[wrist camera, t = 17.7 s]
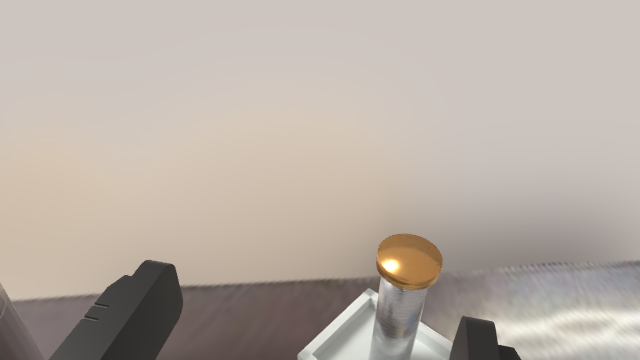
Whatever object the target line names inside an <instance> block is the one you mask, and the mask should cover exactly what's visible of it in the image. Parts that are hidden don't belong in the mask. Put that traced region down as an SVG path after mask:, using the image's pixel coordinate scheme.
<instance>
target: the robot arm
mask: <svg viewBox="0 0 640 360" xmlns="http://www.w3.org/2000/svg"><path fill="white" fill-rule="evenodd" d="M182 306H183V298H182V293H181V289H180V285H179V281H178V277H177V273H176V270H175V266H174V265H173V264H169V263H163V262H158V261H152V260H146V261H144V262H143V263H142V264H141V265H140V266H139V268H138V269H137V270H136V271H135V273H134V274H133V275H132V276H128V275H124V276H123V277H121V278H120V279H119V280H117V281H116V282H114V283H113V284H111V285H110V286H109V287H107V289H106V290H105V291H104V292H103V293H102V295H101V296H100V297H99V298H98V300H97V301H96V302H95V305H94V306H92V307H91V308H90V309H89V311H88V312H87V313H86V314H85V317H84V319H81V321H80V322H79V323H78V324H77V325H76V327H75V328H74V329H73V330H72V332H71V333H70V334H69V335H68V337H67V338H66V339H65V340H64V341H63V343H62V344H61V345H60V346H59V348H58V349H57V350H56V351H55V353H54V354H53V355H52V356H51V357H50V359H49V360H155V359H156V357H157V355H158V354H159V352H160V350H161V349H162V347H163V345H164V343H165V342H166V340H167V338H168V337H169V335H170V333H171V331H172V330H173V328H174V326H175V325H176V323H177V321H178V319H179V317H180V314H181V311H182ZM0 360H45V358H44V357H43V355H42V353H41V352H40V350H39V348H38V346H37V345H36V343H35V341H34V340H33V338H32V336H31V334H30V333H29V331H28V329H27V328H26V326H25V324H24V322H23V321H22V319H21V317H20V316H19V314H18V312H17V310H16V309H15V307H14V305H13V304H12V302H11V300H10V298H9V297H8V295H7V293H6V292H5V290H4V289H3V287H2V285H1V283H0ZM449 360H521V359H520V357H519V355H518V354H517V352H516V350H515V349H514V348H512V347H507V346H502V345H498V342H497V335H496V328H495V324H494V322H492V321H488V320H482V319H477V318H471V317H466V316H463V317H462V318H461V321H460V324H459V327H458V330H457V333H456V336H455V339H454V342H453V345H452V348H451V352H450V358H449Z"/></svg>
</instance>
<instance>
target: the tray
mask: <svg viewBox="0 0 640 360" xmlns="http://www.w3.org/2000/svg"><path fill="white" fill-rule="evenodd" d="M378 295H379V294H377V293H376V292H374V291H373V290H371V289H370V288H368V289H367V290H366V291H365V292H364V293H363V294H362V295H361V296H360V297H358V298H357V299H356V300H355V301H354V302H353V303H352V304H351V305H350V306H349V307H348V308H347V309H346V310H345V311H344V312H342V313H341V314H340V315H339V316H338V317H337V318H336V319H335V320H334V321H333V322H332V323H331V324H330V325H329V326H328V327H327V328H325V329H324V330H323V331H322V332H321V333H320V334H319V335H318V336H317V337H316V338H315V339H314V340H313V341H312V342H311V343H309V344H308V345H307V346H306V347H305V348H304V349H303V350H302V351H301V352H300V353H299V354H298V360H369V353H370V347H371V340H372V334H373V327H374V321H375V314H376V308H377V301H378ZM452 345H453V343H452V342H450V341H449V340H447V339H446V338H444V337H443V336H441V335H439V334H438V333H436V332H435V331H433V330H432V329H430V328H429V327H427V326H426V325H424V324H423V323H421V322H419V326H418V330H417V334H416V338H415V342H414V346H413V350H412V354H411V358H410V360H449V358H450V352H451V348H452Z"/></svg>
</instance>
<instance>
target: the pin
mask: <svg viewBox="0 0 640 360" xmlns="http://www.w3.org/2000/svg"><path fill="white" fill-rule="evenodd" d="M376 265H377V269H378V271H379V273H380V275H381V282H380V288H379V295H378V301H377V308H376V314H375V321H374V327H373V334H372V340H371V347H370V353H369V360H410V358H411V354H412V350H413V346H414V342H415V338H416V334H417V330H418V326H419V322H420V318H421V314H422V310H423V306H424V302H425V298H426V294H427V290H428V287H430V286H432V285H433V284H434V283H435V282H436V281H437V280H438V278H439V274H440V270H441V266H442V256H441V254H440V252H439V250H438V249H437V247H436V246H435V245H433V244H432V243H431V242H429V241H428V240H426V239H424V238H422V237H419V236H416V235H411V234H397V235H392V236H390V237H388V238H386V239H385V240H383V241H382V242H381V244H380V245H379V248H378V253H377V261H376Z"/></svg>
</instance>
